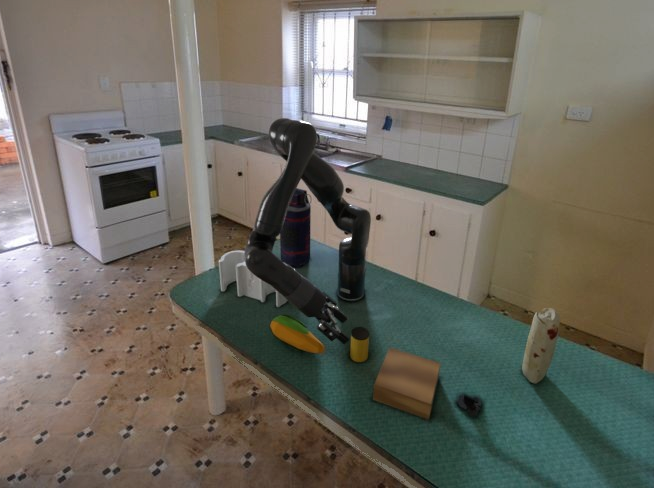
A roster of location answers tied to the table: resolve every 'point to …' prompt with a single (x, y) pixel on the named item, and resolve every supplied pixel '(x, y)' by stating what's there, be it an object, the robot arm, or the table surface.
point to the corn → (295, 334)
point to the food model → (541, 344)
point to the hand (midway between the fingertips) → (346, 330)
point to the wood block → (407, 382)
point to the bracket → (244, 278)
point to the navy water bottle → (296, 230)
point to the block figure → (469, 404)
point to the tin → (359, 344)
